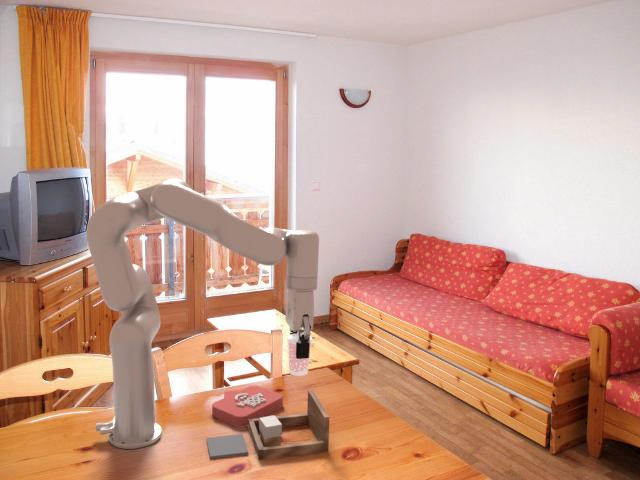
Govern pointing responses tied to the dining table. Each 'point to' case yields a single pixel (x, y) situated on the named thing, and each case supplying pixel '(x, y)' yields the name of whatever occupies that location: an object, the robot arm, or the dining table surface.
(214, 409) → the plaque
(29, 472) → the dining table surface
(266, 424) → the offcut top
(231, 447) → the coaster
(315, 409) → the rack
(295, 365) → the beverage cup
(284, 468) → the dining table surface
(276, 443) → the block
